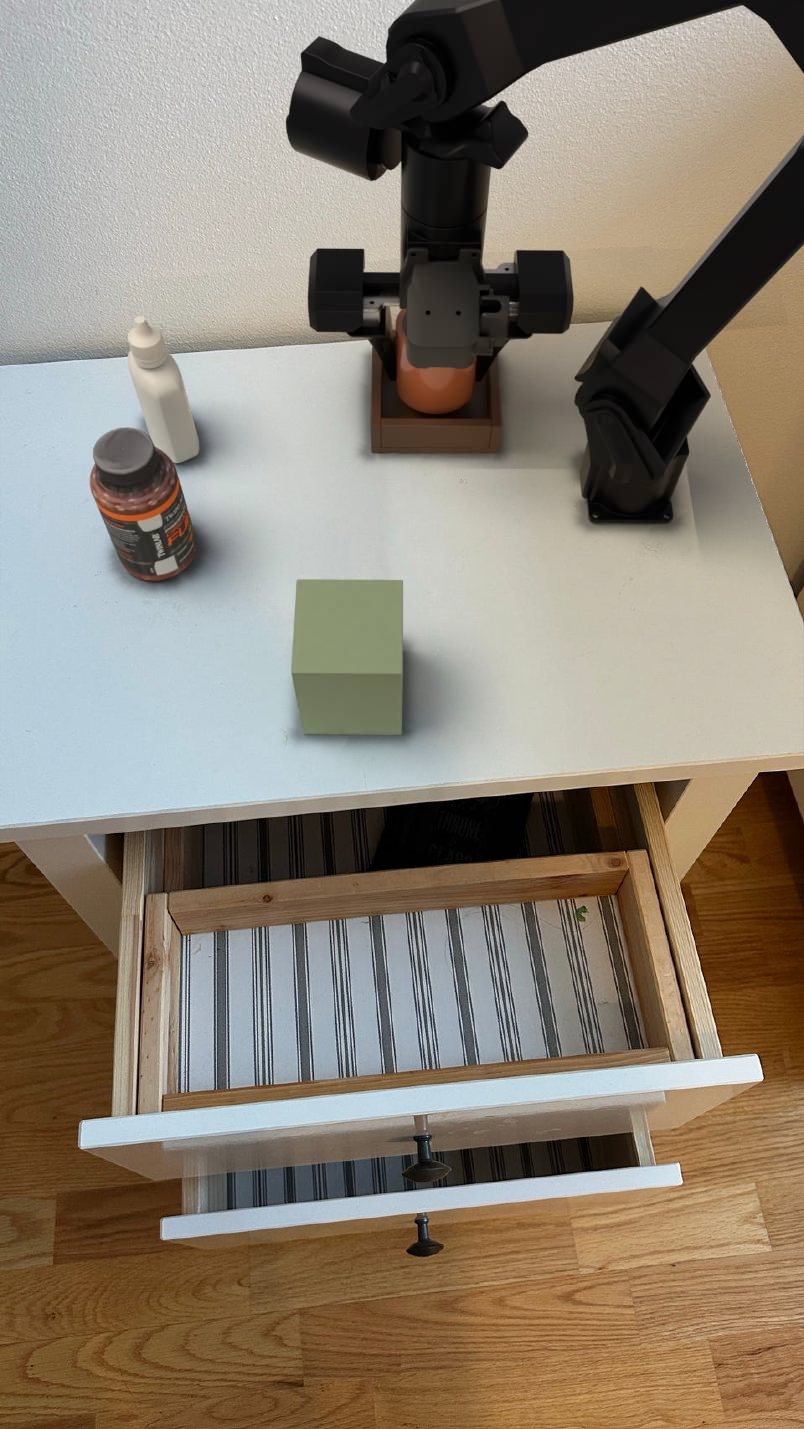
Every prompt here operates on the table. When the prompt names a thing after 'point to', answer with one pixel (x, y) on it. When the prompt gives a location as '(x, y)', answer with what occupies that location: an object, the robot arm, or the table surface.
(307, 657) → the sage green cube
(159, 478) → the supplement bottle
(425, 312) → the robot arm
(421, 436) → the tray
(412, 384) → the cup
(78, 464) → the table surface
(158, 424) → the eye dropper bottle
